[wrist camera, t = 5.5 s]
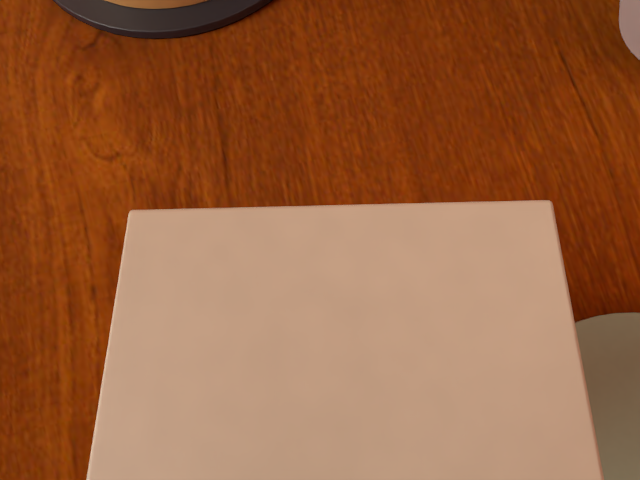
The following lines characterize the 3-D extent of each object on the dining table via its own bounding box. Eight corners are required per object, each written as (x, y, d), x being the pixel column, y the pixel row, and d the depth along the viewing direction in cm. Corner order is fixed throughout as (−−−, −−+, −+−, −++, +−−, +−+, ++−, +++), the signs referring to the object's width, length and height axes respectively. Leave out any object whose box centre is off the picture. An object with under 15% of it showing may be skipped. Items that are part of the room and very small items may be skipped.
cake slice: (428, 564, 15) (753, 1236, 3) (272, 561, 15) (-28, 1151, 3) (414, 341, 17) (554, 196, 5) (280, 342, 17) (126, 206, 6)
